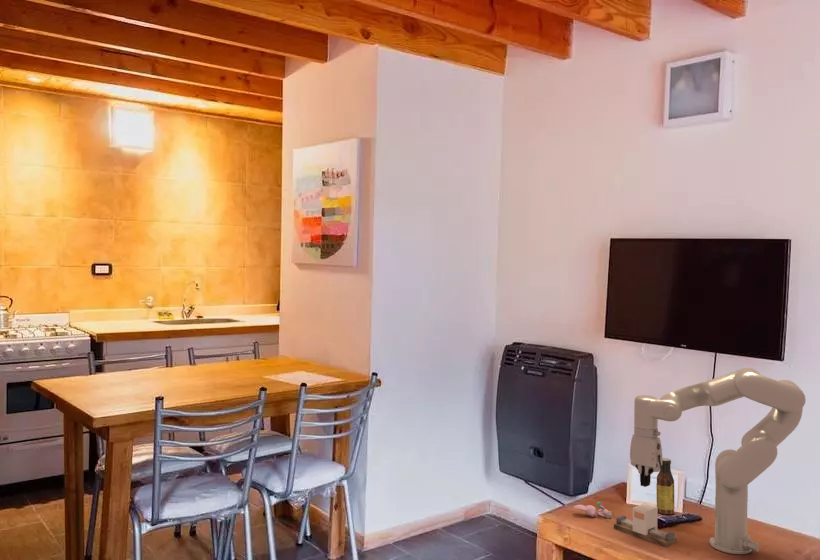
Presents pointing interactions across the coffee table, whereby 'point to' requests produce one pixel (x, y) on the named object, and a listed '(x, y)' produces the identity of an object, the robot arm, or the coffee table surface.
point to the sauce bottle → (665, 488)
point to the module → (644, 518)
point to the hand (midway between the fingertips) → (645, 485)
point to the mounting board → (646, 537)
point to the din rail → (651, 531)
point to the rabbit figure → (592, 510)
